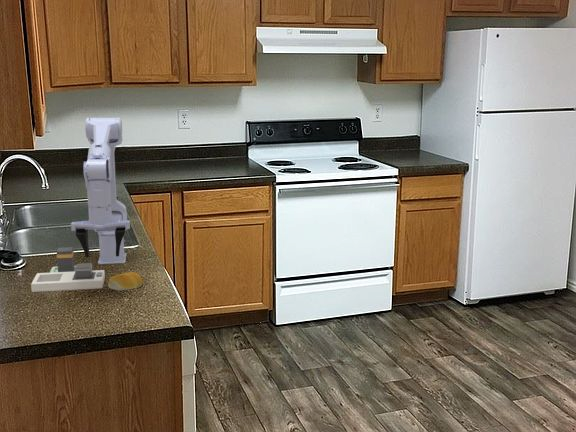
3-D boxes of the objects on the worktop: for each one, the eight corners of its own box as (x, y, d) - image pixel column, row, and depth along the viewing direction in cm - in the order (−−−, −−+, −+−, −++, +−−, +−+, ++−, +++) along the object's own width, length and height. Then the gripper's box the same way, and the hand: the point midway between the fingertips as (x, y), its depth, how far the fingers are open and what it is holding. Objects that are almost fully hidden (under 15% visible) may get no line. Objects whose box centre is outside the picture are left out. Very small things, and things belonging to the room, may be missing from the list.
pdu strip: (37, 281, 182) (36, 262, 181) (104, 278, 185) (103, 259, 184) (31, 293, 173) (30, 273, 172) (102, 289, 177) (101, 270, 175)
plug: (60, 270, 190) (58, 247, 188) (75, 270, 191) (73, 247, 189) (58, 275, 186) (56, 251, 184) (73, 274, 187) (71, 251, 185)
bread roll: (148, 285, 181) (148, 271, 180) (123, 294, 174) (122, 280, 173) (128, 279, 186) (127, 265, 185) (102, 288, 178) (101, 274, 177)
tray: (52, 269, 192) (52, 266, 192) (84, 268, 194) (84, 265, 193) (47, 280, 183) (47, 276, 183) (81, 278, 185) (81, 275, 185)
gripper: (67, 209, 164) (71, 261, 167) (127, 208, 167) (130, 259, 170) (72, 203, 171) (75, 253, 174) (129, 202, 173) (131, 251, 177)
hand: (102, 255), depth 172 cm, fingers open, 7 cm apart
